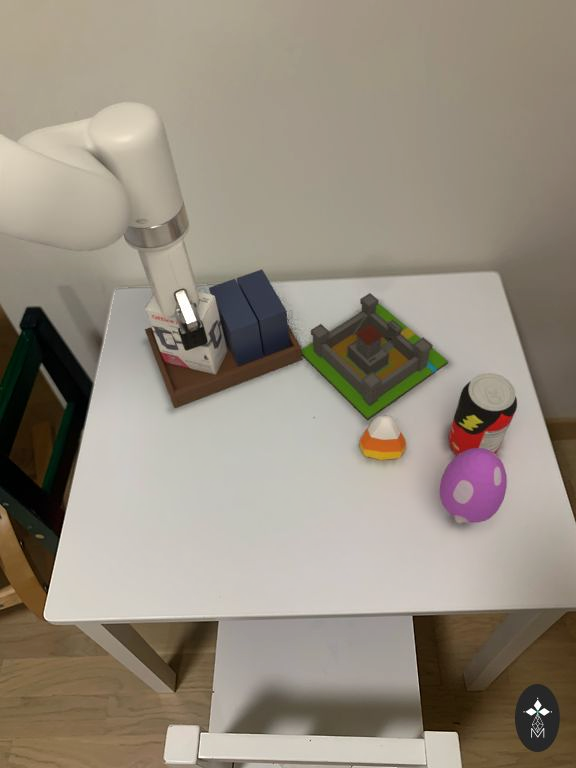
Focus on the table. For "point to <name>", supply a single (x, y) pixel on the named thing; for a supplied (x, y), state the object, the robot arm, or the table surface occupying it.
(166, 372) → the tray
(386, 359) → the castle model
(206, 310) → the ink box
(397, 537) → the table surface
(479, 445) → the beverage can
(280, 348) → the matching cartons
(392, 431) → the candy corn
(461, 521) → the toy
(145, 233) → the robot arm
